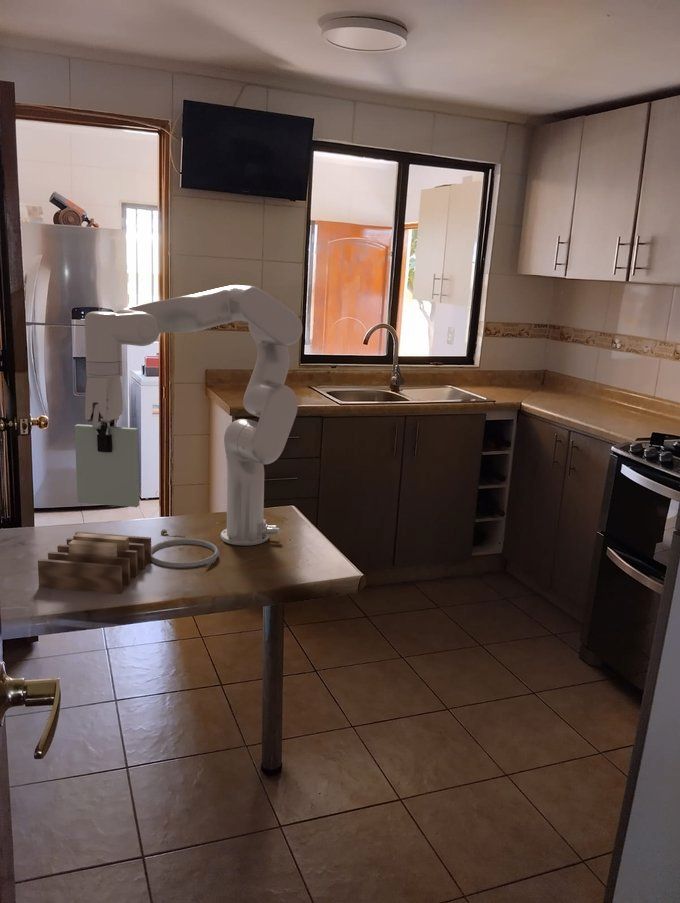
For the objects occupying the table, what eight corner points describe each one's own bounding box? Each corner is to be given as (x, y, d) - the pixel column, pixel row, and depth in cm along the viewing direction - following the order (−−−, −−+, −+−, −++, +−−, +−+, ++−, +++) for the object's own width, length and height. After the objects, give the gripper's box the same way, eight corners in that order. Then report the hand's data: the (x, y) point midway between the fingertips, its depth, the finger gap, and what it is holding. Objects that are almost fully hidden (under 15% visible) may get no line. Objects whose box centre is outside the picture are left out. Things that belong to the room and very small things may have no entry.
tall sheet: (139, 505, 170) (137, 428, 165) (136, 507, 168) (135, 429, 164) (80, 500, 171) (77, 424, 167) (77, 502, 169) (74, 425, 165)
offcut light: (117, 577, 165) (116, 543, 163) (113, 581, 163) (112, 546, 161) (74, 573, 166) (73, 539, 164) (69, 577, 163) (68, 543, 162)
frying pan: (194, 522, 200) (228, 556, 176) (194, 532, 200) (228, 568, 176) (130, 529, 192) (156, 566, 168) (130, 540, 193) (157, 578, 168)
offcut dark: (129, 570, 169) (128, 537, 167) (125, 573, 167) (124, 540, 165) (78, 565, 170) (77, 532, 168) (74, 569, 168) (73, 536, 166)
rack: (151, 565, 175) (151, 537, 173) (120, 598, 157) (119, 567, 155) (78, 559, 176) (77, 531, 175) (39, 591, 158) (37, 560, 157)
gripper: (102, 364, 170) (105, 442, 174) (71, 372, 155) (75, 457, 159) (134, 365, 169) (136, 444, 174) (106, 374, 154) (109, 460, 159)
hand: (107, 450), depth 166 cm, fingers closed on tall sheet, 1 cm apart
